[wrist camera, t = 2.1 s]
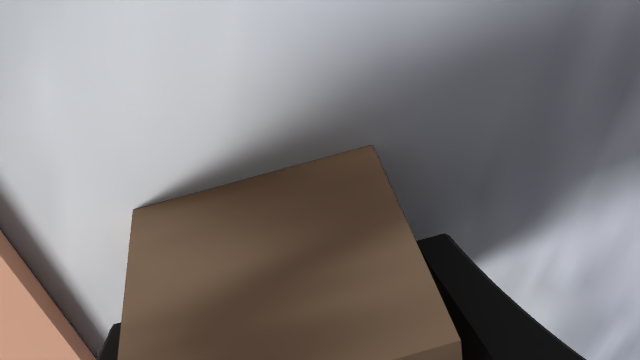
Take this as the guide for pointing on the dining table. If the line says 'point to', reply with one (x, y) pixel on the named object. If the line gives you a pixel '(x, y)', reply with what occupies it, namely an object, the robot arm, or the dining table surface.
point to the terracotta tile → (32, 316)
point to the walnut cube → (284, 272)
